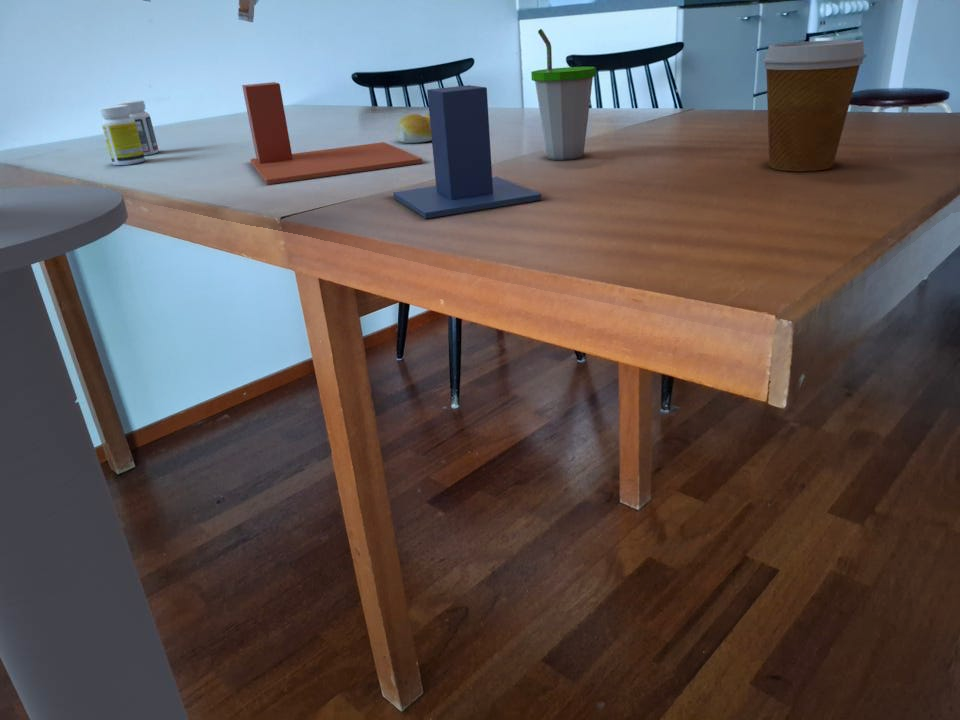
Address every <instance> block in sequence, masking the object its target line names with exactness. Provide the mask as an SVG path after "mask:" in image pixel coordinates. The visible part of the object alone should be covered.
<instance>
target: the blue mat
mask: <svg viewBox="0 0 960 720" xmlns="http://www.w3.org/2000/svg"><path fill="white" fill-rule="evenodd" d="M492 182H493V193H492V194H486V195H479V196H473V197H467V198H460V199H454V200H451V199H449V198H447V197H445V196H443V195H442V194H440V193H438V192H437V189H436V185H432V186H427V187H426V186H425V187H420V188H412V189H406V190H400V191H393V192H392V194H393V199H395V200H397V201H398V202H399V203H401V204H403V205H404V206H406V208H409V209H411V210H412V211H413V212H415V213H416V214H418V215H419V216H421V217H422V218H424V219H425V220H427V219H432V218H433V219H434V218H439V217H440V218H441V217H447V216H451V215H459V214H464V213H470V212H476V211H477V212H478V211H481V210H488V209H489V210H490V209H495V208H500V207H506V206H514V205H519V204H526V203H530V202H538V201H542V194H541V193H539V192H537V191H534V190H532V189H530V188H526V187H524V186H523V185H519V184H516V183H513V182H512V181H509V180H507V179H504V178H501V177H498V176H492Z"/></svg>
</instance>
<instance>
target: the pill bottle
mask: <svg viewBox="0 0 960 720" xmlns="http://www.w3.org/2000/svg"><path fill="white" fill-rule="evenodd" d="M118 105H128V107H129V110H130V114H131V115H129V116H130V117H131V118H133V119H134V120H135V123H136V127H137V130H138V134H139V138H140V142H141V146H142V149H143V153H144V156H149V155H154V154H157V153H159V152H160V151H159V147H158V142H157V138H156V134H155V131H154V126H153V122H152V118H151V115H150V113H148V112H147V111H145V110H146V104H145V101H144V100H141V99H139V100H126V101H119V102H117V106H118Z"/></svg>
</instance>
